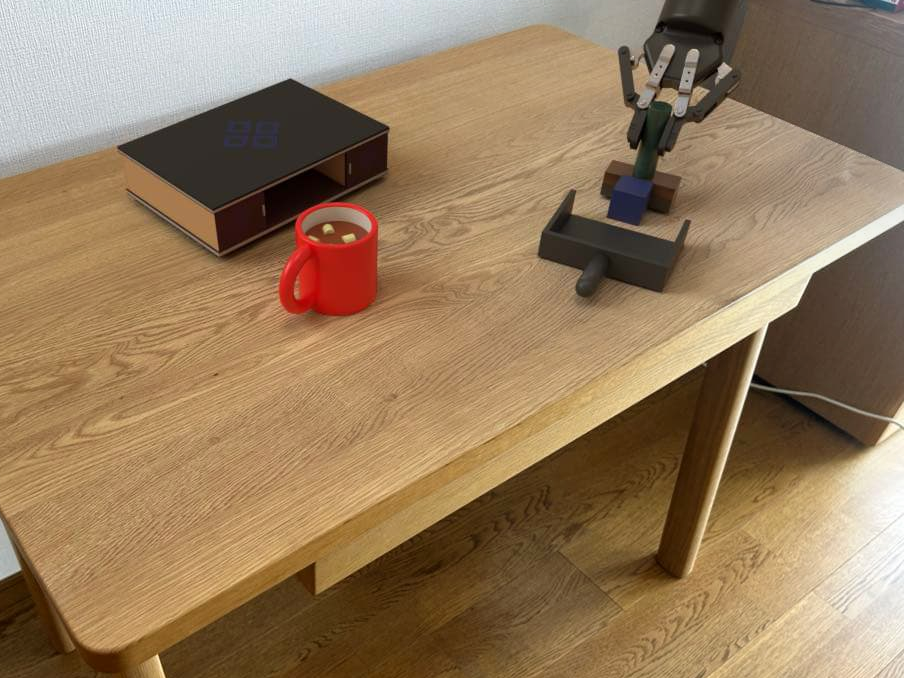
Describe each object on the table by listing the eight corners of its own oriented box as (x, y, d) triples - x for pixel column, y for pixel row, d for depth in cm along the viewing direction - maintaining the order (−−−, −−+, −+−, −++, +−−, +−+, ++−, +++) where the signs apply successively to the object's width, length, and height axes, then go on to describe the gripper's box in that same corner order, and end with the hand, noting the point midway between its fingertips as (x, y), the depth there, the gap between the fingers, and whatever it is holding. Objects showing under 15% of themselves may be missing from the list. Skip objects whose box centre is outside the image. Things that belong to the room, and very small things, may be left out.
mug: (255, 316, 85) (248, 248, 79) (331, 259, 91) (329, 193, 86) (318, 348, 81) (315, 279, 76) (392, 286, 88) (394, 219, 83)
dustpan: (566, 214, 98) (571, 188, 96) (683, 246, 94) (691, 220, 91) (516, 287, 88) (520, 261, 86) (644, 326, 84) (652, 300, 82)
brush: (675, 200, 99) (702, 108, 92) (668, 212, 98) (695, 120, 90) (607, 182, 102) (628, 92, 94) (599, 194, 100) (620, 103, 92)
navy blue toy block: (615, 202, 100) (622, 174, 97) (646, 210, 99) (654, 182, 96) (606, 217, 98) (613, 189, 95) (637, 226, 96) (645, 197, 94)
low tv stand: (388, 179, 103) (390, 126, 98) (220, 264, 91) (212, 209, 86) (293, 128, 112) (290, 77, 107) (127, 199, 99) (116, 146, 95)
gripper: (639, -36, 91) (581, 122, 92) (777, -12, 87) (713, 154, 88) (641, 0, 98) (587, 147, 99) (769, 24, 94) (710, 177, 95)
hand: (647, 149), depth 94 cm, fingers closed on brush, 2 cm apart
